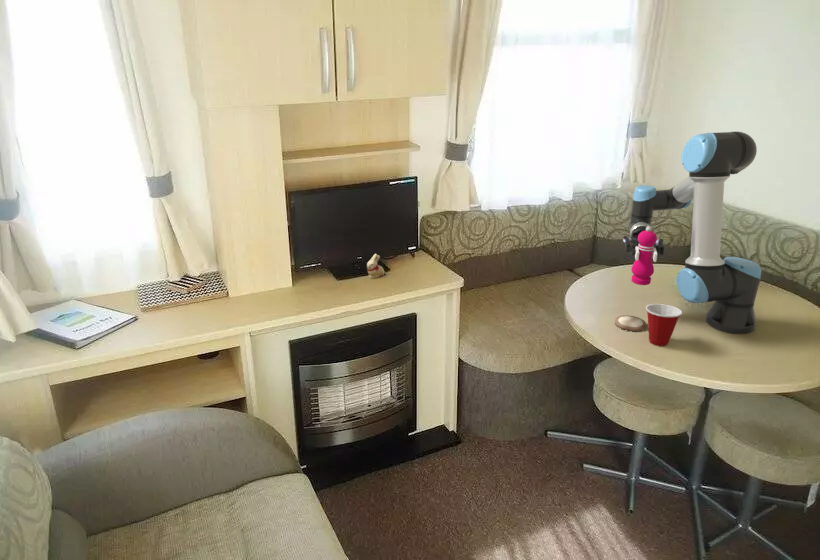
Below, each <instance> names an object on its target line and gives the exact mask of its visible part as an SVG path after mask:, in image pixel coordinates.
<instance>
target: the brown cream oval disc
mask: <svg viewBox="0 0 820 560" xmlns="http://www.w3.org/2000/svg"><path fill="white" fill-rule="evenodd" d="M614 325H615V326H616V327H617V328H618V327H619V328H618V329H620V328H621V330H622V329H623V330H622V331H625V330H627V331H626V332H631V331H632V333H635V332H636V331H639V332H642V331H644V330H646V326H647V322H646V321H645V320H644V319H643V318H641V317H639V316H635V315H620V316H617V317H615V319H614ZM636 333H637V332H636Z"/></svg>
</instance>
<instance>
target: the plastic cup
mask: <svg viewBox="0 0 820 560" xmlns="http://www.w3.org/2000/svg"><path fill="white" fill-rule="evenodd" d="M645 310H646V312H647V313H646V314H647V326H648V327H647V328H648V342H649V343H650V344H651V345H653V346H657V347H666V346H668V344H669V342H670V340H671V337H672V335H673V333H674V330H675V327H676V325H677V322H678V320H679V318H680V317H681V316H682V314H683V311H682V310H681V309H680V308H678V307H677V306H673V305H670V304H663V303H651V304H647V305H646V306H645Z"/></svg>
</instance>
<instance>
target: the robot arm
mask: <svg viewBox="0 0 820 560" xmlns="http://www.w3.org/2000/svg"><path fill="white" fill-rule="evenodd" d="M757 153H758V152H757V144H756V142H755V140H754V138H753V137H752V136H751V135H749V134H748V133H745V132H742V131H728V132H727V131H726V132H723V131H722V132H705V133H698V134H695V135H693V136H691V137H690V139H688V141H687V142H685V145H684V146H683V149H682V153H681V164H682V165H683V168H684V170H685V171H686V172H688V173H689V174H688V176H687V177H686V178H684V179H683V180H681V181H680V182H679V183H677V184H676V185H674V186H673V187H671V188H669V189H661V190H657V187H655V186H653V185H648V184H647V185H646V184H642V185H638V186H636V187H635V188H634V192H633V197H632V208H631V214H630V219H629V221H628V230H629V234H630V237H629V236H626V235H624V236H623V239H622V243H623V245H624V250H625V252H626V253H629V252H630V255H631V256H634V259H635V260H638V258H639V249H638V244H640V243H639V241H638V235H639V234H640V233H641V232H642V231H646V228H647V227H651V228H652V219H653V214H654V212H655V211H657V212H659V211H668V210H669V211H670V210H681V209H687V208H688V207H689V206H690V205H691V203H692V222H691V243H690V255H689V256H688V258H686V259H685V261H684V262H685V263H684V268H682V269H680V270H679V271H678V272H677V275H676V277H675V280H676V283H675V284H676V286H677V290H678V292H679V294H680V296H681V297H682V299H684V300H685V301H686V302H688V303H690V304H691V303H692V304H705V303H710V302H712V305H711V306H710V308H709V309H708V311H707V313H706V315H705V322H706V323H707V325H709V326H710V327H712V328H713V329H715V330H718V331H721V332H724V333H729V334H736V335H738V334H739V335H745V334H750V333H752V332H754V331H755V328H756V323H757V321H756V315H755V308H754V306H755V302H756V298H757V294H758V290H759V287H760V286H759V285H760V282H761V279H762V277H761V275H762V267H761V266H760V264H759V263H756V262H754V261H752V260H749V259H746V258H743V257H738V256H737V257H736V256H726V257H724V258H723V259H722V258H721V256H720V255H721V243H722V241H721V240H722V226H723V225H722V223H723V210H724V209H723V208H724V192H725V190H724V189H725V182H726V181H727V180H728V179H729V178H730V177H731V175H737V174H739V173H741V172H742V171H744V169H745V170H746V169H747V168H748V167H749V166H750V165H751V164H752V163H753V162H754V160H755V158H756V156H757ZM651 231H652V232H653V230H652V229H651ZM664 253H665V246H664V238H663V239H662V238H660V239H657V241H656V243H655V244H654V250H652V253H651V258H652V259H653V261H652V262H654V263H657V259H658V258H659V257H660V255H661V256H663V255H664Z"/></svg>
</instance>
